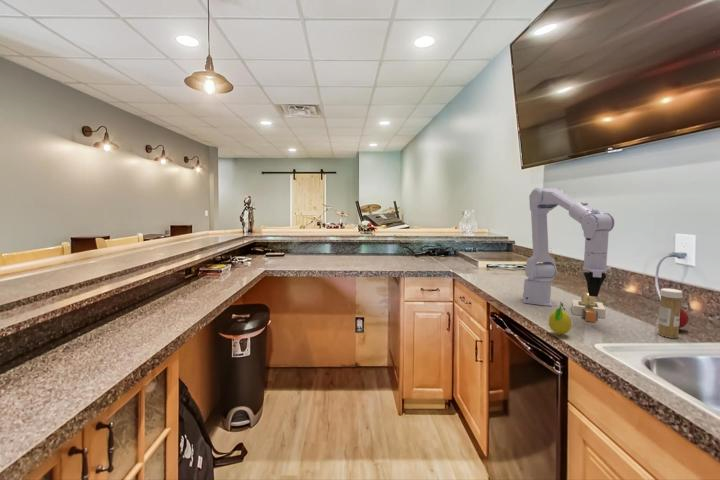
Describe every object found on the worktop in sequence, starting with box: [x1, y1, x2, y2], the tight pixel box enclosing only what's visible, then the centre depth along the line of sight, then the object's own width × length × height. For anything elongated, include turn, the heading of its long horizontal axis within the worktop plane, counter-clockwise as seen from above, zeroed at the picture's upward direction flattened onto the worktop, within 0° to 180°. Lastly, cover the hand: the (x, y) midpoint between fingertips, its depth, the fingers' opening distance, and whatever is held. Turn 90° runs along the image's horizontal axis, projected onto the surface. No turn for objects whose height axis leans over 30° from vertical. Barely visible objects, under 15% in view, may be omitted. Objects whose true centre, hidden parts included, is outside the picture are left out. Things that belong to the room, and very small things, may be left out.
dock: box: [571, 299, 606, 319], centre depth 116 cm, size 9×9×3 cm
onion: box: [679, 307, 690, 329], centre depth 99 cm, size 6×6×8 cm
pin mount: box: [581, 309, 599, 321], centre depth 110 cm, size 4×2×3 cm, turn 60°
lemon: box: [548, 301, 572, 336], centre depth 96 cm, size 7×6×10 cm
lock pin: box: [584, 310, 597, 323], centre depth 110 cm, size 3×7×3 cm, turn 150°
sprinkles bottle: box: [657, 287, 683, 339], centre depth 94 cm, size 5×5×13 cm
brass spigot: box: [580, 291, 596, 310], centre depth 116 cm, size 4×4×7 cm
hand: (593, 295), depth 103 cm, fingers closed
